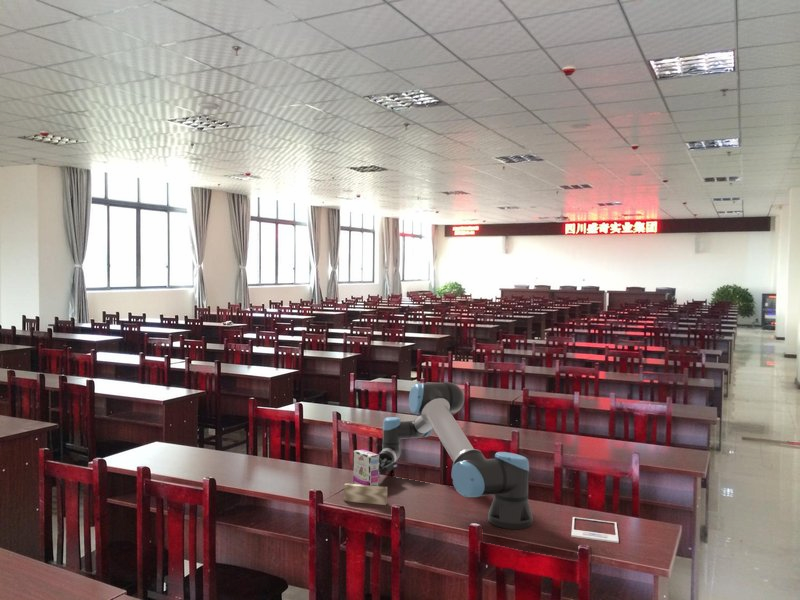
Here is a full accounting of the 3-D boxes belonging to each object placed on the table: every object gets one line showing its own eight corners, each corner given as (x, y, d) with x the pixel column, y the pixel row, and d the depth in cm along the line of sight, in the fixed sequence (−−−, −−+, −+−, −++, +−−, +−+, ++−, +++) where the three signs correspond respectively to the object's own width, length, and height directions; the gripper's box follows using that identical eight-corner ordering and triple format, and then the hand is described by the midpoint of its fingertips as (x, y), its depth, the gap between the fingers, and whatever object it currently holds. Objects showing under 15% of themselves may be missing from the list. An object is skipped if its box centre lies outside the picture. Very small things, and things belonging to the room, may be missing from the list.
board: (386, 503, 233) (387, 487, 233) (385, 505, 231) (386, 488, 231) (345, 499, 236) (345, 483, 236) (343, 500, 234) (344, 484, 234)
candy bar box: (380, 497, 239) (380, 454, 238) (369, 500, 236) (369, 456, 235) (363, 489, 248) (363, 448, 247) (352, 492, 245) (352, 450, 244)
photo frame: (571, 534, 206) (572, 516, 223) (571, 537, 206) (572, 519, 223) (618, 540, 202) (616, 521, 219) (618, 544, 202) (616, 525, 219)
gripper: (400, 469, 266) (388, 486, 243) (370, 466, 268) (355, 483, 245) (401, 451, 266) (389, 466, 242) (371, 449, 268) (356, 463, 245)
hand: (372, 474), depth 244 cm, fingers closed
